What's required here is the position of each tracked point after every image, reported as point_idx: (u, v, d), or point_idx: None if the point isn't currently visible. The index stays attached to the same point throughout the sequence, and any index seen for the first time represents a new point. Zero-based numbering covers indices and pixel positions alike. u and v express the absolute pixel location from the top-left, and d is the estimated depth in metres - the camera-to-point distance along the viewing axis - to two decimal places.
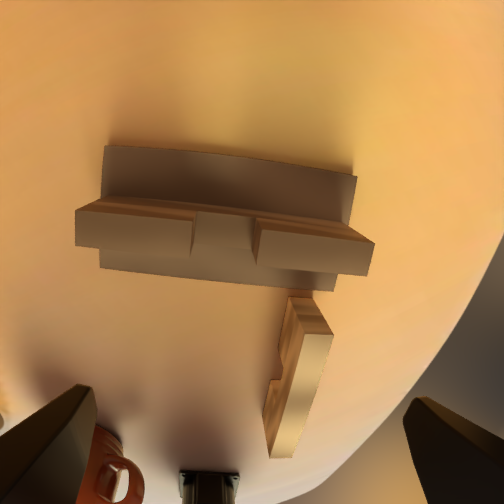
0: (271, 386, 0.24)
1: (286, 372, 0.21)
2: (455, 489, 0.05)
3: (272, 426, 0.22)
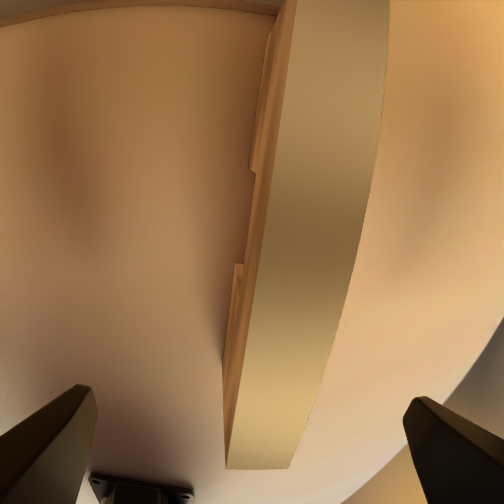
0: (235, 275, 0.10)
1: (262, 162, 0.07)
2: (454, 489, 0.05)
3: (232, 376, 0.08)
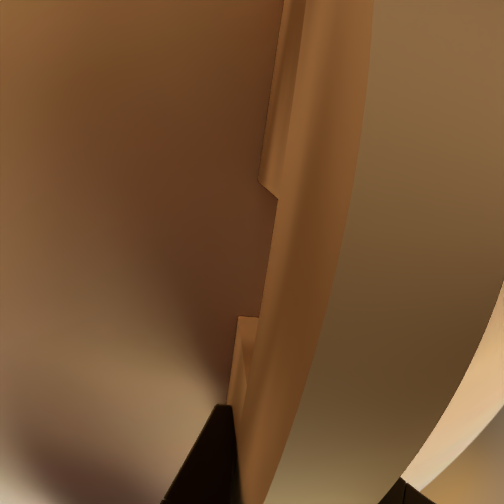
0: (239, 336, 0.07)
1: (295, 182, 0.03)
2: None
3: (237, 487, 0.05)
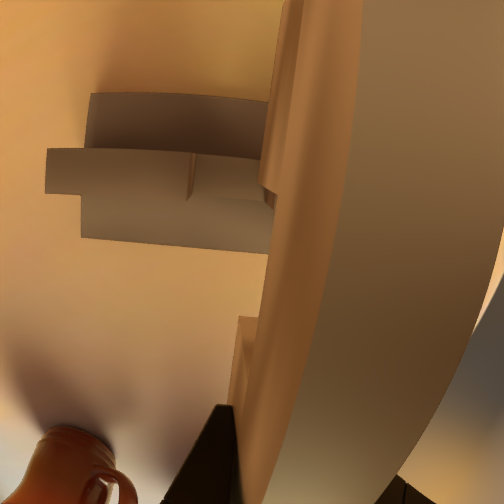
0: (239, 336, 0.07)
1: (293, 176, 0.04)
2: None
3: (238, 484, 0.05)
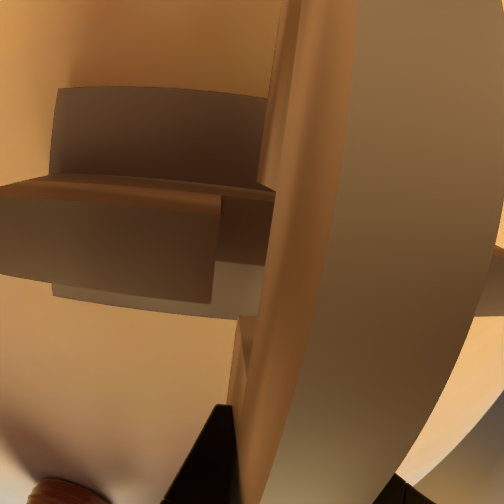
0: (239, 334, 0.07)
1: (291, 171, 0.04)
2: None
3: (237, 482, 0.05)
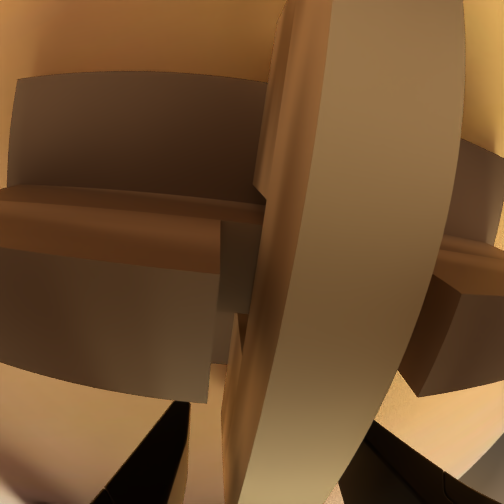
0: (236, 318, 0.08)
1: (277, 187, 0.05)
2: None
3: (233, 449, 0.06)
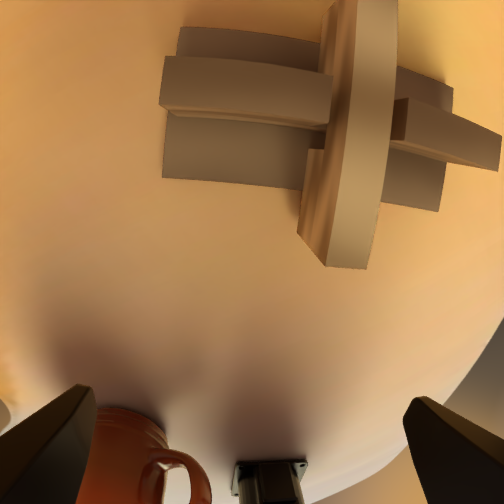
0: (311, 152, 0.15)
1: (339, 69, 0.11)
2: (454, 489, 0.05)
3: (324, 197, 0.13)
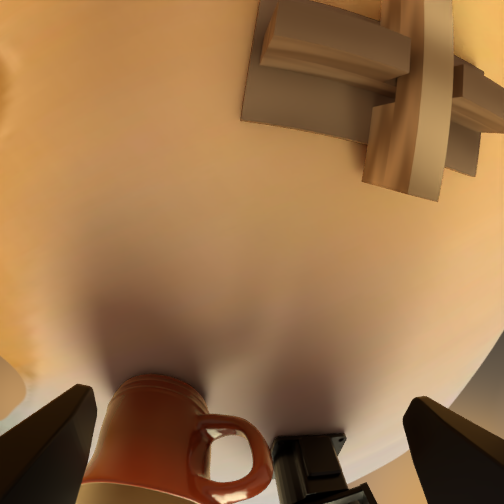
0: (377, 109, 0.16)
1: None
2: (454, 489, 0.05)
3: (399, 139, 0.13)
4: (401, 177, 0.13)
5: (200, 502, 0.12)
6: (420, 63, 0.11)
